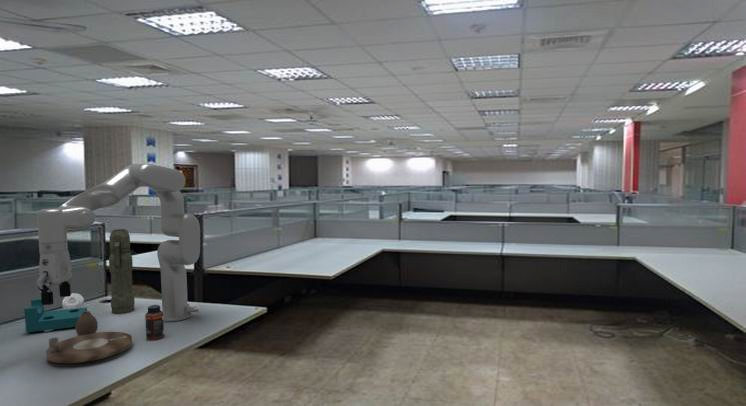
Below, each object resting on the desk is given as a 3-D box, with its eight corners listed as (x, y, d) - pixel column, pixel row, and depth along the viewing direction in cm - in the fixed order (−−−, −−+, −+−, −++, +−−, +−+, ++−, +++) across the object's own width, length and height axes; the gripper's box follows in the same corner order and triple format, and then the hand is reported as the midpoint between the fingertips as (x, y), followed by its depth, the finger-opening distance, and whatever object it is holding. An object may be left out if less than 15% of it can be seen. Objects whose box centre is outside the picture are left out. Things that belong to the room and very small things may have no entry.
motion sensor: (60, 315, 199) (59, 296, 198) (64, 310, 206) (63, 292, 205) (83, 312, 202) (82, 294, 202) (86, 308, 209) (85, 290, 209)
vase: (102, 332, 175) (101, 309, 175) (89, 339, 169) (88, 315, 168) (84, 332, 176) (83, 309, 176) (71, 339, 169) (70, 314, 169)
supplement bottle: (168, 335, 171) (167, 304, 171) (155, 341, 166) (154, 309, 165) (155, 334, 173) (153, 303, 172) (142, 339, 168) (140, 307, 167)
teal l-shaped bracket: (26, 336, 175) (24, 309, 173) (34, 325, 184) (31, 299, 183) (83, 329, 182) (81, 303, 180) (87, 319, 192) (86, 294, 190)
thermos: (109, 316, 196) (105, 231, 194) (112, 309, 207) (109, 229, 205) (133, 313, 200) (130, 230, 197) (135, 306, 210) (132, 227, 208)
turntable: (124, 331, 172) (123, 316, 172) (139, 350, 153) (139, 333, 153) (43, 347, 157) (42, 330, 157) (50, 369, 138) (49, 351, 138)
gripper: (49, 251, 143) (53, 307, 144) (80, 243, 160) (83, 293, 161) (23, 252, 142) (27, 308, 144) (57, 243, 160) (60, 293, 161)
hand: (56, 300), depth 153 cm, fingers open, 9 cm apart
